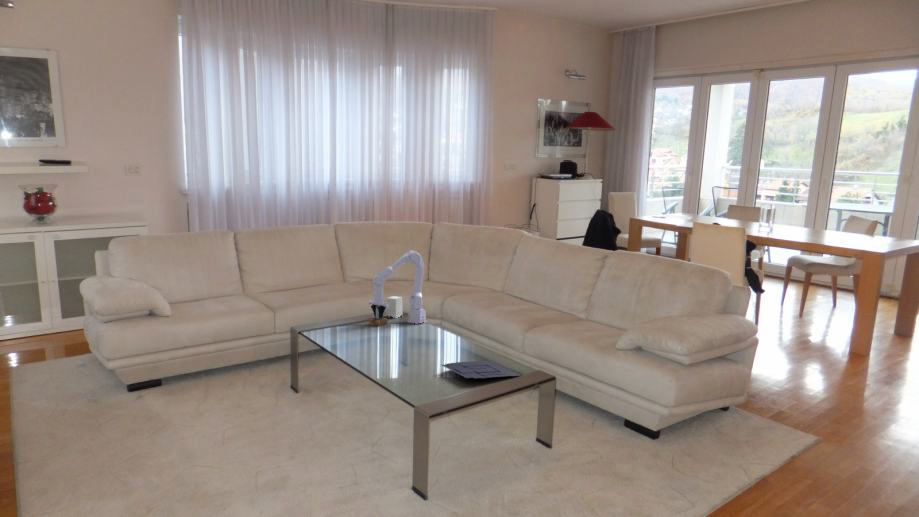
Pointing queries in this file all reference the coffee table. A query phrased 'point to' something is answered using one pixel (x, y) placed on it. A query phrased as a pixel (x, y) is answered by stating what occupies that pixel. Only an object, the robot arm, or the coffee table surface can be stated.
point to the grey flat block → (479, 369)
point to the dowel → (377, 313)
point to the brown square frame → (378, 322)
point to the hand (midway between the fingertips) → (378, 317)
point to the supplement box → (394, 306)
